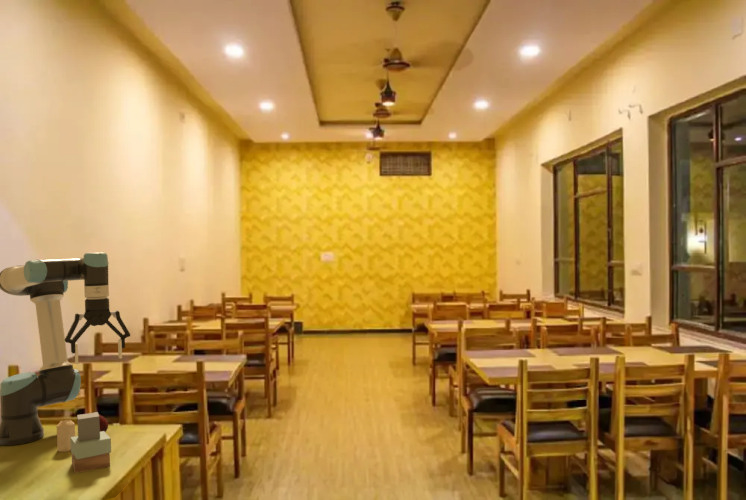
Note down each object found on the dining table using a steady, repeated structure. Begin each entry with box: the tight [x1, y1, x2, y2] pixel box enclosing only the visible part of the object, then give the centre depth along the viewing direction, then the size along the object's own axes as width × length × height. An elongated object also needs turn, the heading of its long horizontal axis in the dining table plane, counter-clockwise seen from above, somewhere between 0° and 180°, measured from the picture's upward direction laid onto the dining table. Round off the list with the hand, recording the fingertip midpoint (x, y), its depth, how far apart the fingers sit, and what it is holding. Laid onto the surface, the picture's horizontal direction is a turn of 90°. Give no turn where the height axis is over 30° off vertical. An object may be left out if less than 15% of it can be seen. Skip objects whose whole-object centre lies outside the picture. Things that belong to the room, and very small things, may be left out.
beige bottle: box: [56, 418, 76, 453], centre depth 212 cm, size 6×6×10 cm
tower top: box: [70, 431, 112, 460], centre depth 196 cm, size 10×10×4 cm
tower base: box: [71, 453, 111, 474], centre depth 196 cm, size 10×10×4 cm
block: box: [76, 411, 100, 442], centre depth 196 cm, size 6×6×7 cm
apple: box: [99, 414, 109, 433], centre depth 226 cm, size 7×8×8 cm
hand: (98, 360), depth 209 cm, fingers open, 13 cm apart
